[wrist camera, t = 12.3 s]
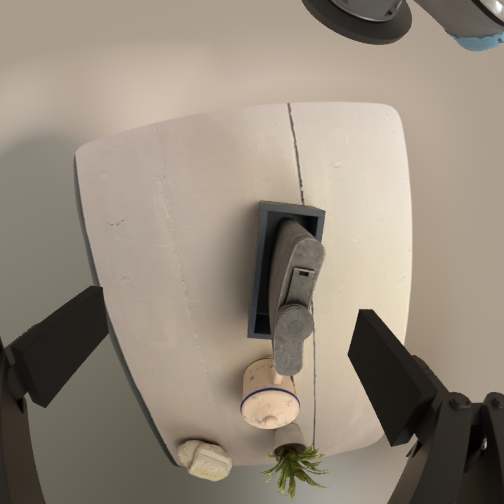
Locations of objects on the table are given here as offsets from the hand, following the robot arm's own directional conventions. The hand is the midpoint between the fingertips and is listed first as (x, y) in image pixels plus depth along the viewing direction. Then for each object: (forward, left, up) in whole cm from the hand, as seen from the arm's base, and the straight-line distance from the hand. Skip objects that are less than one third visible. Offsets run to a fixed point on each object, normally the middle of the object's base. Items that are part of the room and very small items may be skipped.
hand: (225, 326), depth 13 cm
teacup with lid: (+24, +7, -28) cm, 37 cm away
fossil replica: (+50, -4, -28) cm, 57 cm away
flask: (+4, +6, -27) cm, 28 cm away
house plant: (+42, +14, -28) cm, 52 cm away
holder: (+4, +6, -28) cm, 28 cm away
